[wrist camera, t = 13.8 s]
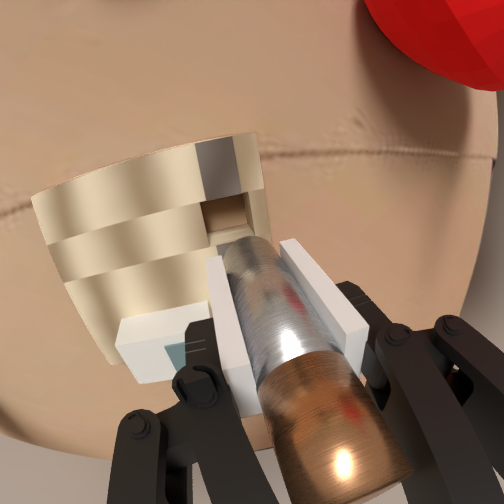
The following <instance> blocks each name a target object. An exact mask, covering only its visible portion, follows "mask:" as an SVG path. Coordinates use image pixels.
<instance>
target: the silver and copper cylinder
mask: <svg viewBox="0 0 504 504" xmlns="http://www.w3.org/2000/svg"><path fill="white" fill-rule="evenodd" d="M223 264H224V268H225V272H226V276H227V279H228V283H229V287H230V291H231V295H232V299H233V302H234V306H235V310H236V314H237V317H238V321H239V325H240V328H241V332H242V335H243V339H244V343H245V346H246V350H247V353H248V357H249V360H250V364H251V368H252V372H253V376H254V380H255V383H256V392H257V395H258V399H259V402H260V405H261V409H262V412H263V416H264V419H265V422H266V426H267V429H268V432H269V435H270V439H271V442H272V445H273V448H274V451H275V455H276V458H277V461H278V464H279V467H280V470H281V473H282V476H283V479H284V482H285V485H286V488H287V491H288V494H289V497H290V500H291V503H292V504H362V503H364V502H366V501H369V500H370V499H373V498H374V497H377V496H378V495H380V494H382V493H384V492H386V491H387V490H389V489H391V488H393V487H394V486H396V485H397V484H399V483H400V482H402V481H403V480H405V479H406V478H408V477H409V476H410V475H411V474H412V473H413V472H414V471H415V470H414V469H413V467H412V465H411V463H410V462H409V460H408V458H407V457H406V455H405V453H404V452H403V450H402V448H401V447H400V445H399V443H398V442H397V440H396V438H395V437H394V435H393V433H392V432H391V430H390V428H389V427H388V425H387V423H386V422H385V420H384V418H383V417H382V415H381V413H380V412H379V410H378V409H377V407H376V405H375V404H374V402H373V400H372V399H371V397H370V396H369V394H368V392H367V391H366V389H365V388H364V386H363V384H362V383H361V381H360V380H359V378H358V376H357V375H356V373H355V372H354V370H353V368H352V367H351V365H350V364H349V362H348V360H347V359H346V357H345V356H344V354H343V353H342V351H341V349H340V348H339V346H338V345H337V343H336V342H335V340H334V339H333V337H332V335H331V334H330V332H329V331H328V329H327V328H326V326H325V325H324V323H323V321H322V320H321V318H320V317H319V315H318V314H317V312H316V311H315V309H314V308H313V306H312V305H311V303H310V301H309V300H308V298H307V297H306V295H305V294H304V292H303V291H302V289H301V288H300V286H299V285H298V283H297V282H296V280H295V279H294V277H293V276H292V274H291V273H290V271H289V270H288V268H287V267H286V265H285V264H284V262H283V261H282V259H281V258H280V256H279V255H278V253H277V252H276V250H275V249H274V247H273V246H272V245H271V243H270V242H269V241H267V240H266V239H264V238H261V237H258V236H246V237H242V238H240V239H238V240H236V241H235V242H233V243H232V244H231V245H230V246H229V247H228V249H227V250H226V252H225V254H224V257H223Z"/></svg>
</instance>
